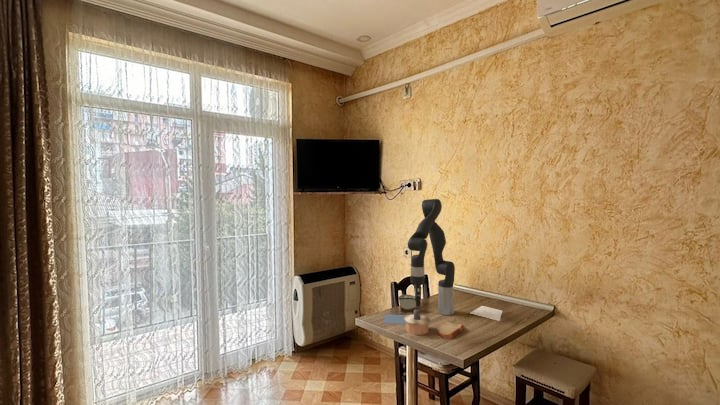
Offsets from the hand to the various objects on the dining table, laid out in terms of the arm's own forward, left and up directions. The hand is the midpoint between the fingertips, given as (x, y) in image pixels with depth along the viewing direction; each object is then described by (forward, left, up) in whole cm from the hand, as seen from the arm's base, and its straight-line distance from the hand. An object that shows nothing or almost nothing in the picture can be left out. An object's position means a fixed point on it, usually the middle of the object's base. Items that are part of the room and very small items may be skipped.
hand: (417, 303), depth 179 cm
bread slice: (-18, -2, -16) cm, 24 cm away
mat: (+11, -15, -15) cm, 24 cm away
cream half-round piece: (+4, -32, -15) cm, 36 cm away
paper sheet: (-52, -32, -16) cm, 63 cm away
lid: (0, 0, -9) cm, 9 cm away
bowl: (0, 0, -15) cm, 15 cm away
